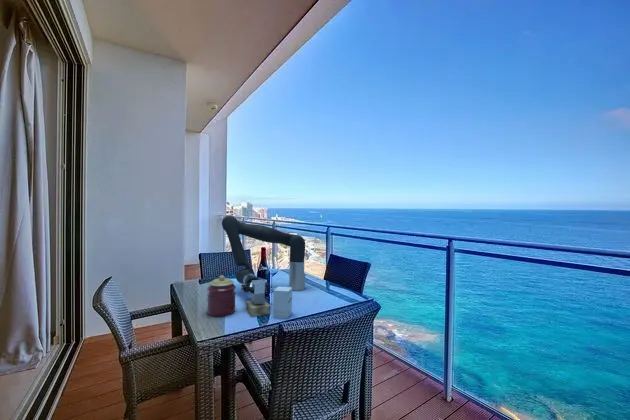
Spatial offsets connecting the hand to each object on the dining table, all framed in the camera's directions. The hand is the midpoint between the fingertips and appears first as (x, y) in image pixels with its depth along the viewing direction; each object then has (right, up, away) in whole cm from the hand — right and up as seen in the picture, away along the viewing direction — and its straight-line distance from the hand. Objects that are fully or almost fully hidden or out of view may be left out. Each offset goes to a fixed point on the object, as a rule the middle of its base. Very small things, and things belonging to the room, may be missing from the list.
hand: (259, 291), depth 140 cm
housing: (-1, -6, +2) cm, 7 cm away
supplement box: (+11, -11, -2) cm, 16 cm away
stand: (-1, -11, +2) cm, 11 cm away
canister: (-19, -11, +1) cm, 21 cm away
